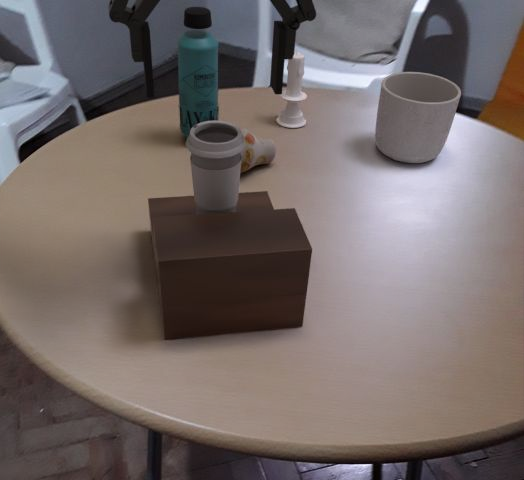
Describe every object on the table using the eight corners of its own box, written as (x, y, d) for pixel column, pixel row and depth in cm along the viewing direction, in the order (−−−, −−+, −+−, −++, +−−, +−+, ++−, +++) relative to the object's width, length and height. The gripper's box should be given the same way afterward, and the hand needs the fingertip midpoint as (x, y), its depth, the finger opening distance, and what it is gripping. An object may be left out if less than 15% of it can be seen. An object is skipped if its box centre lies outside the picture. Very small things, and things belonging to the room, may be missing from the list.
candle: (279, 113, 114) (284, 44, 106) (308, 117, 113) (315, 47, 105) (273, 126, 110) (278, 55, 102) (303, 130, 110) (310, 59, 101)
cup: (207, 202, 82) (205, 113, 74) (252, 217, 80) (256, 126, 72) (178, 229, 77) (173, 137, 69) (226, 245, 76) (227, 152, 67)
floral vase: (288, 168, 100) (274, 128, 91) (236, 201, 100) (217, 164, 91) (266, 138, 103) (250, 96, 94) (216, 170, 103) (195, 131, 94)
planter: (395, 175, 100) (410, 108, 92) (356, 141, 108) (367, 76, 100) (458, 163, 104) (477, 97, 96) (416, 130, 112) (431, 67, 104)
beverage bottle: (171, 137, 105) (164, 6, 91) (203, 126, 109) (200, -1, 95) (195, 152, 102) (192, 19, 88) (227, 140, 106) (228, 11, 92)
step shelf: (150, 230, 86) (143, 155, 78) (265, 222, 89) (269, 149, 81) (164, 340, 71) (158, 261, 63) (302, 326, 73) (312, 249, 66)
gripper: (344, -163, 57) (317, 74, 72) (60, -177, 53) (93, 79, 68) (370, -151, 52) (335, 102, 67) (57, -165, 48) (94, 109, 62)
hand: (213, 91), depth 67 cm, fingers open, 13 cm apart
